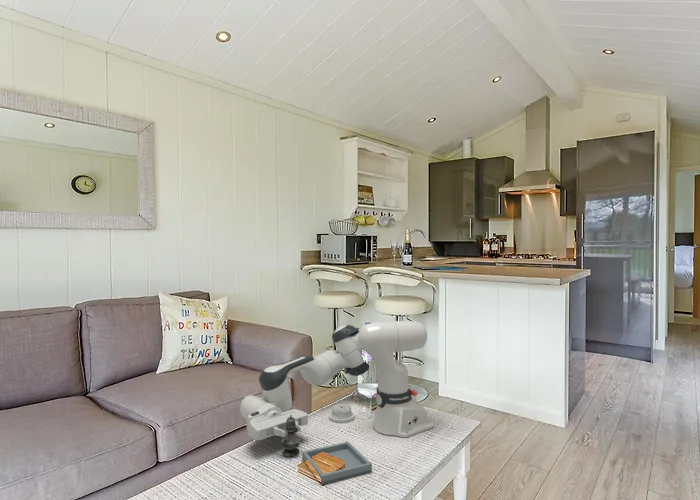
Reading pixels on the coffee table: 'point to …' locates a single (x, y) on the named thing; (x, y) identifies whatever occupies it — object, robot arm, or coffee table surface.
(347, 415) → the mechanical component
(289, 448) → the dark stone stupa
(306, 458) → the tray
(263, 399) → the robot arm
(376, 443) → the coffee table surface
